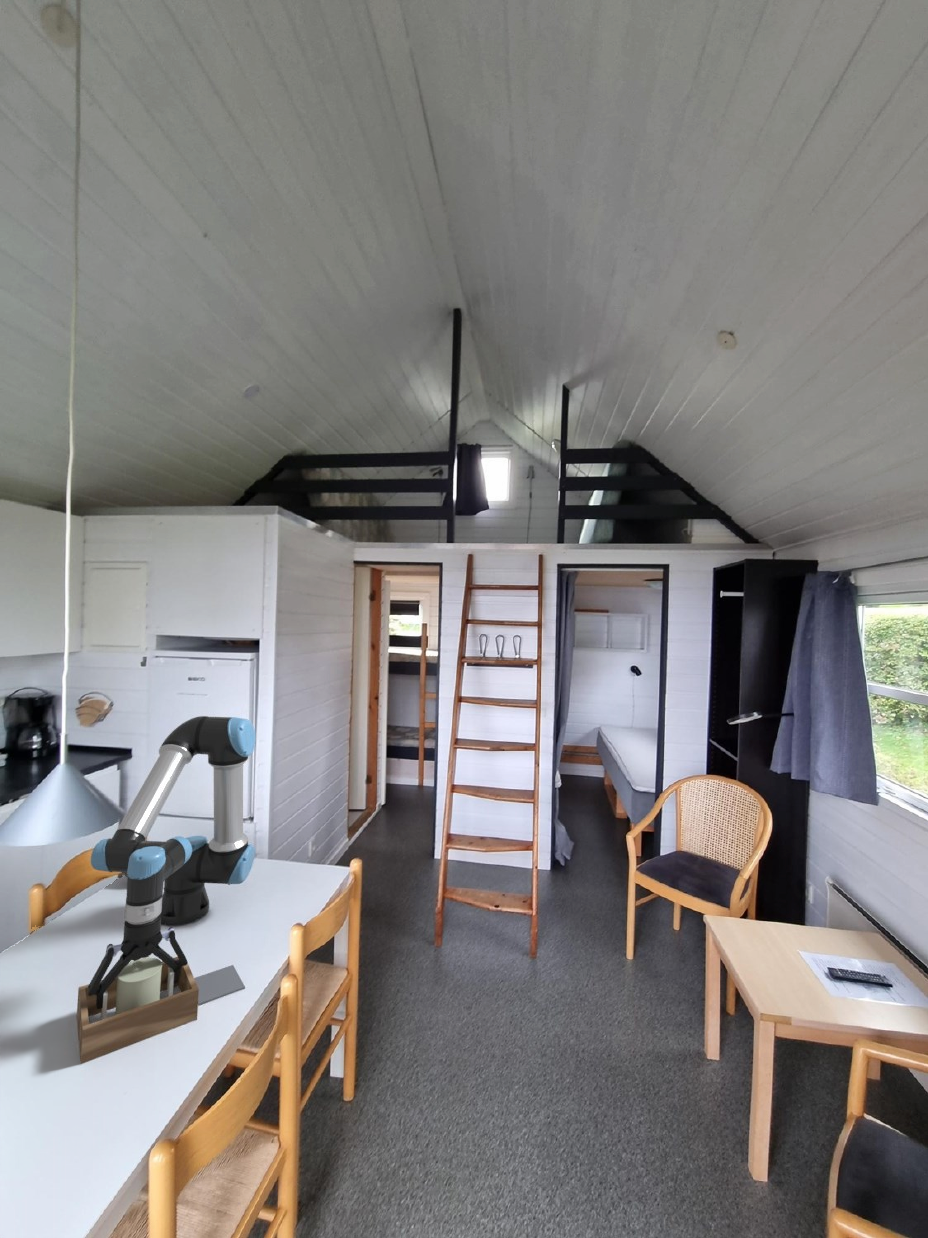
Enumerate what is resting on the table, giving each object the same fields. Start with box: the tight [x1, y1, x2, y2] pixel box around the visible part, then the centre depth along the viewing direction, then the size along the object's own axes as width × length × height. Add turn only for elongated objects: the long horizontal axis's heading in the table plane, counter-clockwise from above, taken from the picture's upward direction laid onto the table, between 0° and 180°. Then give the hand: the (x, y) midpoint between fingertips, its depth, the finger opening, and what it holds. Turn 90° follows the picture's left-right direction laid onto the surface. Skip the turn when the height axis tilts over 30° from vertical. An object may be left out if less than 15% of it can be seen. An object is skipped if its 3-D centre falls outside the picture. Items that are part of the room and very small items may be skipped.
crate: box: [76, 956, 199, 1065], centre depth 125 cm, size 16×22×7 cm
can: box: [114, 957, 162, 1016], centre depth 125 cm, size 9×9×12 cm
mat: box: [194, 964, 246, 1007], centre depth 137 cm, size 11×11×1 cm
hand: (137, 1009), depth 125 cm, fingers open, 13 cm apart
